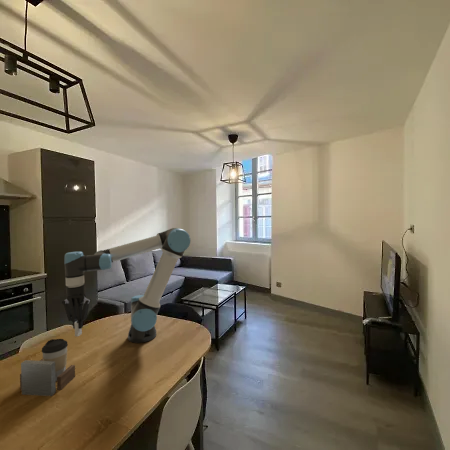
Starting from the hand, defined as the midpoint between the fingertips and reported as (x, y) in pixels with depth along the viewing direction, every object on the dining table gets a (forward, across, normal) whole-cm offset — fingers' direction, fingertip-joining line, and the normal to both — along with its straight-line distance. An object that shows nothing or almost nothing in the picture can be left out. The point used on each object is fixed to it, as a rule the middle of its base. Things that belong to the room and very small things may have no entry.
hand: (78, 335), depth 117 cm
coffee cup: (+12, +2, +13) cm, 18 cm away
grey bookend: (+11, +1, +23) cm, 26 cm away
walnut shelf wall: (+12, +2, +12) cm, 17 cm away
